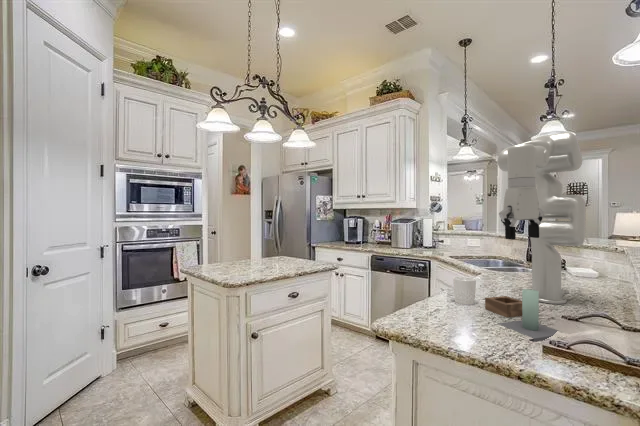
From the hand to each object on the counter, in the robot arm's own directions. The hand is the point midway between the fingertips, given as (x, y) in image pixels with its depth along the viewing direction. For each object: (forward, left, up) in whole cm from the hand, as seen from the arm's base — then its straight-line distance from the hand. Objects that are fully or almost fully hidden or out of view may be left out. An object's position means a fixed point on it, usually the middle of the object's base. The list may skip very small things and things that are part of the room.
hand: (522, 238), depth 99 cm
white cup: (+3, -22, -27) cm, 35 cm away
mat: (+4, +6, -27) cm, 28 cm away
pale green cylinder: (+4, +6, -26) cm, 27 cm away
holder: (-2, -8, -27) cm, 28 cm away
